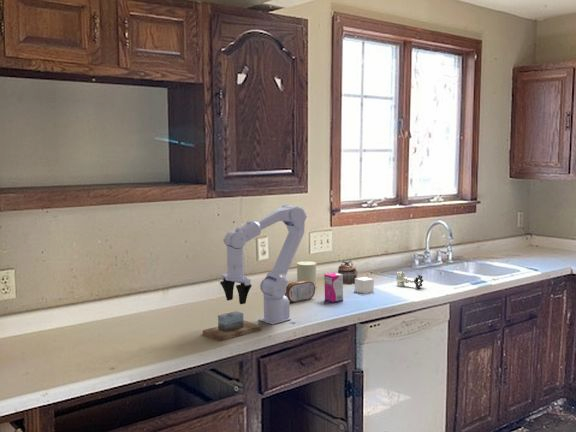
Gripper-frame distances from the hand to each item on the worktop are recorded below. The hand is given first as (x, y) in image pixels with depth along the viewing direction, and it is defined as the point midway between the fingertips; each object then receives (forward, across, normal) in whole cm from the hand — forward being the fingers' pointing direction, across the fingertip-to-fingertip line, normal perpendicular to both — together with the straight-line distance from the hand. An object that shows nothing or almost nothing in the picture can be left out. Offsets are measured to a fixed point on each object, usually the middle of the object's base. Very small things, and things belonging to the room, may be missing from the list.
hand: (236, 301), depth 210 cm
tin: (+10, -12, +43) cm, 46 cm away
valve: (+10, +6, +97) cm, 98 cm away
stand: (+9, +4, -5) cm, 11 cm away
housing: (+8, +4, -6) cm, 10 cm away
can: (+10, -27, +62) cm, 69 cm away
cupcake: (+10, -22, +85) cm, 89 cm away
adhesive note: (+10, -3, +75) cm, 76 cm away
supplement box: (+10, -1, +53) cm, 54 cm away
